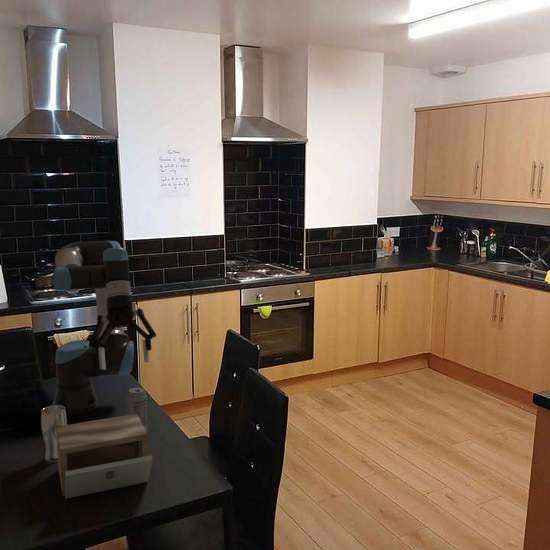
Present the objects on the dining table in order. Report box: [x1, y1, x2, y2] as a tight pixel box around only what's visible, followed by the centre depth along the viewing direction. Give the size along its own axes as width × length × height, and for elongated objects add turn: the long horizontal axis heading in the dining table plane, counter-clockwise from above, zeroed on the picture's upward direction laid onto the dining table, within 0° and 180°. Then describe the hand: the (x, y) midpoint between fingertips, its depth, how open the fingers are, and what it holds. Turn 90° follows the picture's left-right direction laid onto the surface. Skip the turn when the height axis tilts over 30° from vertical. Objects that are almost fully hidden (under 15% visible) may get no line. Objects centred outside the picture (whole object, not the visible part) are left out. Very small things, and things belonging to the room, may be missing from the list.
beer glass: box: [40, 404, 68, 464], centre depth 168 cm, size 7×7×15 cm
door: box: [64, 454, 154, 499], centre depth 147 cm, size 2×21×12 cm
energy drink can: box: [126, 386, 148, 433], centre depth 184 cm, size 6×6×15 cm
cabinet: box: [56, 414, 149, 497], centre depth 158 cm, size 14×22×14 cm, turn 114°
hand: (124, 365), depth 173 cm, fingers open, 13 cm apart
